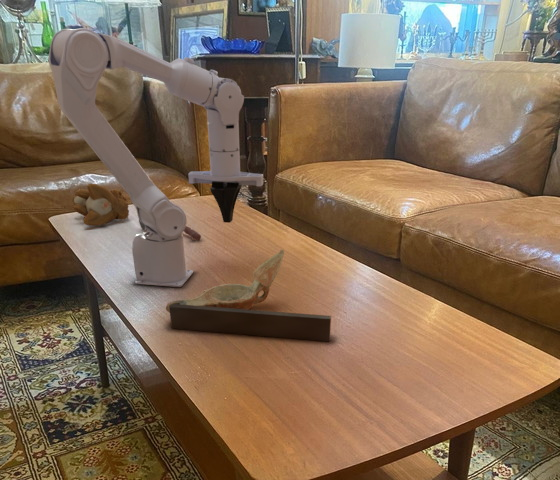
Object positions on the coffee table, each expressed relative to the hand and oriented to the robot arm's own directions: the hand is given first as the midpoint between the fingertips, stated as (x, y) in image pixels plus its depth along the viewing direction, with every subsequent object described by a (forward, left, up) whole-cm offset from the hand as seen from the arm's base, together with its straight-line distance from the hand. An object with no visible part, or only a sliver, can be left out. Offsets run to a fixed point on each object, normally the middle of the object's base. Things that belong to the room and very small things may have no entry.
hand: (228, 221), depth 110 cm
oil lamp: (+5, -22, -10) cm, 25 cm away
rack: (+11, -30, -9) cm, 33 cm away
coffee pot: (-20, +18, -10) cm, 29 cm away
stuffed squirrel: (-37, +23, -5) cm, 44 cm away
